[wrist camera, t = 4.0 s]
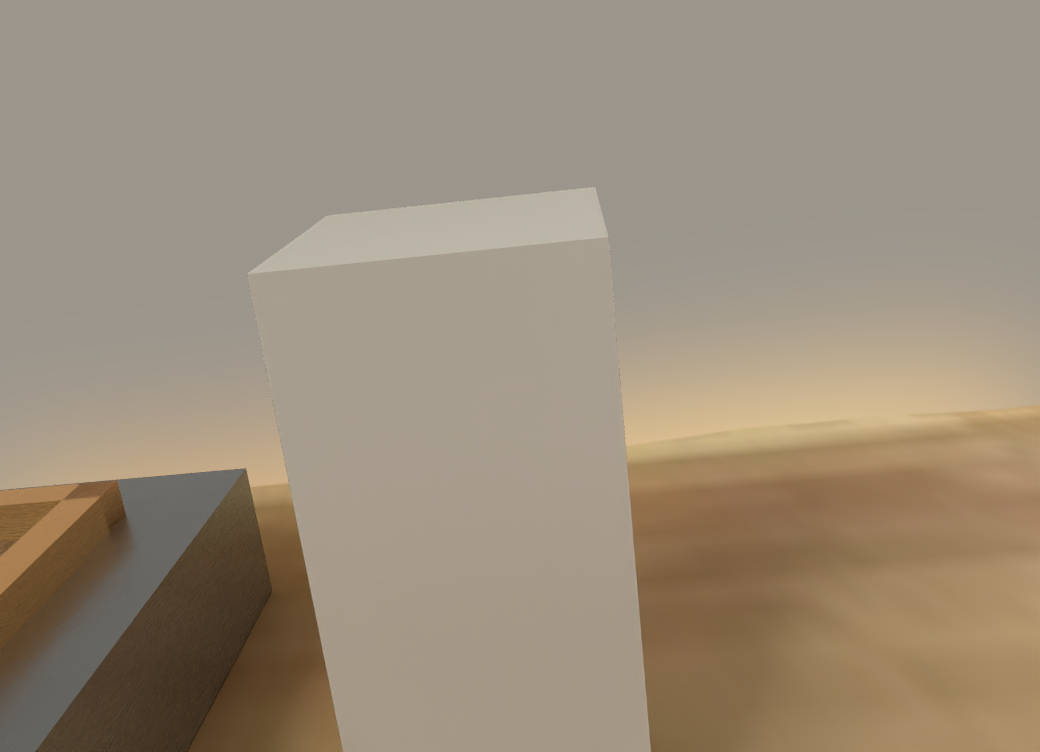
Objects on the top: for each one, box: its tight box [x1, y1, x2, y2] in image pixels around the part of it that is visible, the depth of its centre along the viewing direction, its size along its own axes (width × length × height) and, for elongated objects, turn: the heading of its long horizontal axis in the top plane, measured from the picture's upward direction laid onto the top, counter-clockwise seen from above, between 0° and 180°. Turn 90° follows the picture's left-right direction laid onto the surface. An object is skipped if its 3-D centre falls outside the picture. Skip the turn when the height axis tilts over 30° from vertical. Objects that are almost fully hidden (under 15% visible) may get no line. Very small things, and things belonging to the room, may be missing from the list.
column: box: [247, 187, 651, 752], centre depth 18 cm, size 5×5×12 cm
